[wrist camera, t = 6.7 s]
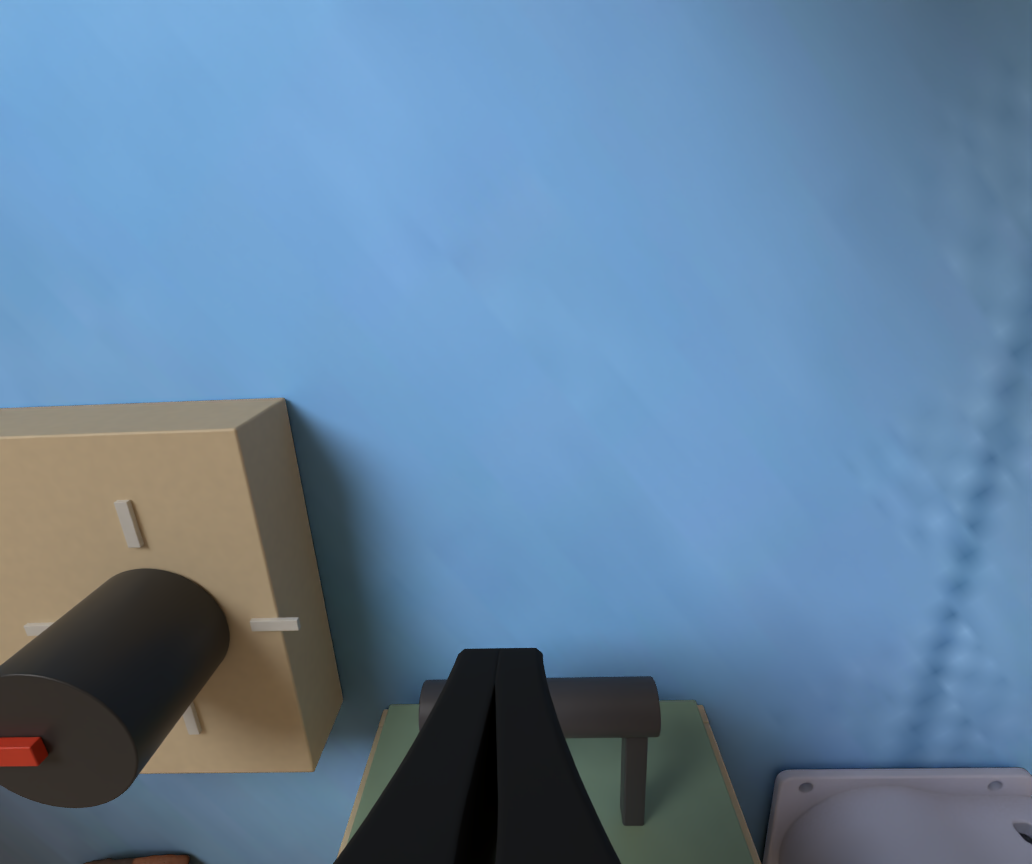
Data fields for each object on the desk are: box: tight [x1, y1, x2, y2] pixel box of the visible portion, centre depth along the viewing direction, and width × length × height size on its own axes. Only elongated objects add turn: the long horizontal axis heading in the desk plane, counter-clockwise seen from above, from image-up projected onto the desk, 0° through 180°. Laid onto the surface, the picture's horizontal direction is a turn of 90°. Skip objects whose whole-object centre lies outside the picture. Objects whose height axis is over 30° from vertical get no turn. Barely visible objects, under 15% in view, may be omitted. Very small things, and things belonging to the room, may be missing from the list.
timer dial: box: [0, 568, 230, 808], centre depth 14 cm, size 4×4×4 cm
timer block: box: [0, 398, 343, 774], centre depth 17 cm, size 11×12×3 cm
